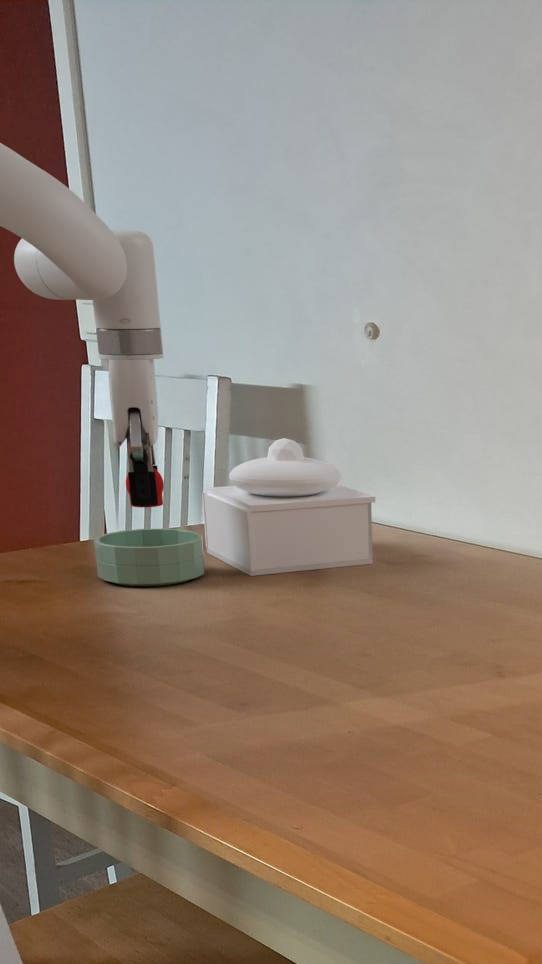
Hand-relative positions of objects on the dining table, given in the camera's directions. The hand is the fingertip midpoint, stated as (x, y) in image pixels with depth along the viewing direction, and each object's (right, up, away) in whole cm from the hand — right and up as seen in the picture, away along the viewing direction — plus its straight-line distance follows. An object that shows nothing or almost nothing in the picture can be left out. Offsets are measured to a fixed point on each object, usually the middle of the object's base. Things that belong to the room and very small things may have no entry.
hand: (146, 500), depth 159 cm
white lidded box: (+16, -4, +16) cm, 23 cm away
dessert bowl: (0, -9, +4) cm, 10 cm away
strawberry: (0, 0, 0) cm, 1 cm away
